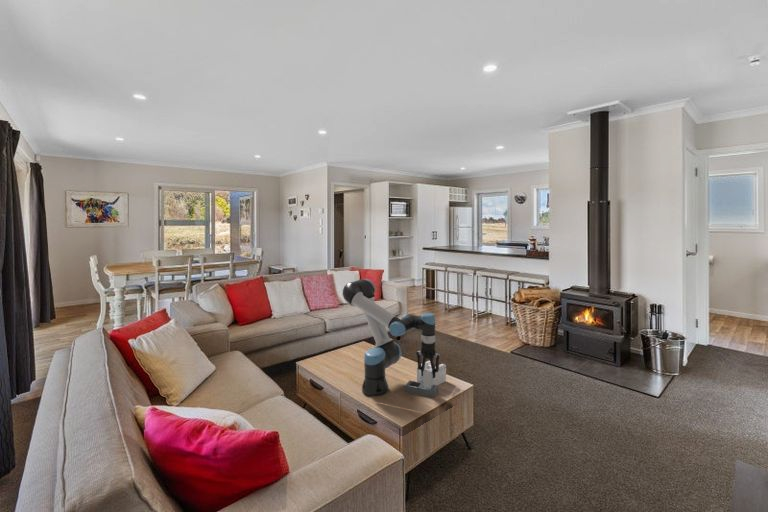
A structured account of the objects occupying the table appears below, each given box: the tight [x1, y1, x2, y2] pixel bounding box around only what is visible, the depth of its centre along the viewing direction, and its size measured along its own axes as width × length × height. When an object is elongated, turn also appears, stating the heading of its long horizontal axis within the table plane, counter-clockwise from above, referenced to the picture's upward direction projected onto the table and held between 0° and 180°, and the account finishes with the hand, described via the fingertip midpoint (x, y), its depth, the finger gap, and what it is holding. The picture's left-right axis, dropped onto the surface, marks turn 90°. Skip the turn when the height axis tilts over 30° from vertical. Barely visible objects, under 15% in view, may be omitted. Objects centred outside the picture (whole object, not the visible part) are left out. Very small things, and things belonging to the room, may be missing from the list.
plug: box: [424, 369, 433, 390], centre depth 205 cm, size 4×5×12 cm
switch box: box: [404, 380, 439, 398], centre depth 207 cm, size 17×7×4 cm, turn 65°
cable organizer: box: [416, 359, 447, 386], centre depth 217 cm, size 15×11×12 cm
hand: (428, 382), depth 205 cm, fingers closed on plug, 4 cm apart
